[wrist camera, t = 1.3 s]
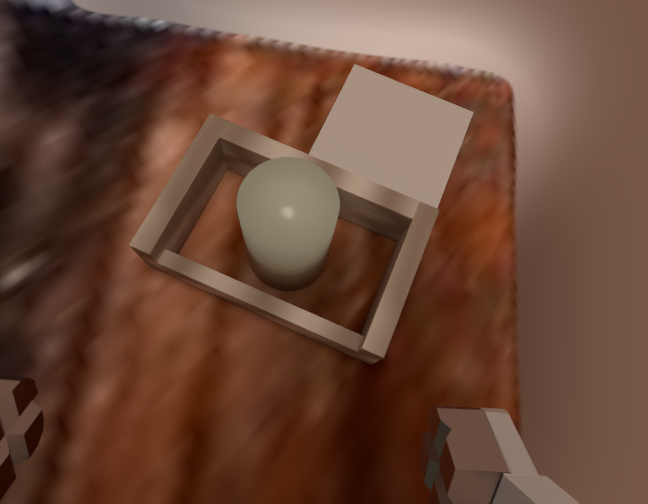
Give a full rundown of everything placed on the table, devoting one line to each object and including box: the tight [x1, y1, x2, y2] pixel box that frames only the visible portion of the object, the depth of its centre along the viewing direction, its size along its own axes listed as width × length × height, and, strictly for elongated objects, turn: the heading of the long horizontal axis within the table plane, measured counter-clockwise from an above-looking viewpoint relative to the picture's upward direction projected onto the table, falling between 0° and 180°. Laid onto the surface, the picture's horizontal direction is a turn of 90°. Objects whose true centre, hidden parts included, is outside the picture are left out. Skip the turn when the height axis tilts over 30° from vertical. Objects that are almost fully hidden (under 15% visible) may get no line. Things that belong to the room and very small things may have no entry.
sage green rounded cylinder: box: [237, 157, 340, 291], centre depth 33 cm, size 6×6×10 cm
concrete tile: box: [309, 64, 473, 208], centre depth 42 cm, size 12×12×1 cm
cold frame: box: [129, 114, 439, 364], centre depth 36 cm, size 19×12×5 cm, turn 67°
